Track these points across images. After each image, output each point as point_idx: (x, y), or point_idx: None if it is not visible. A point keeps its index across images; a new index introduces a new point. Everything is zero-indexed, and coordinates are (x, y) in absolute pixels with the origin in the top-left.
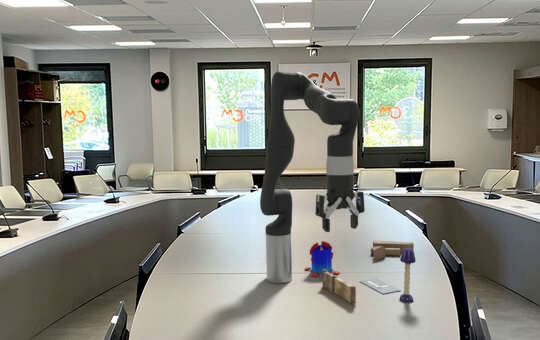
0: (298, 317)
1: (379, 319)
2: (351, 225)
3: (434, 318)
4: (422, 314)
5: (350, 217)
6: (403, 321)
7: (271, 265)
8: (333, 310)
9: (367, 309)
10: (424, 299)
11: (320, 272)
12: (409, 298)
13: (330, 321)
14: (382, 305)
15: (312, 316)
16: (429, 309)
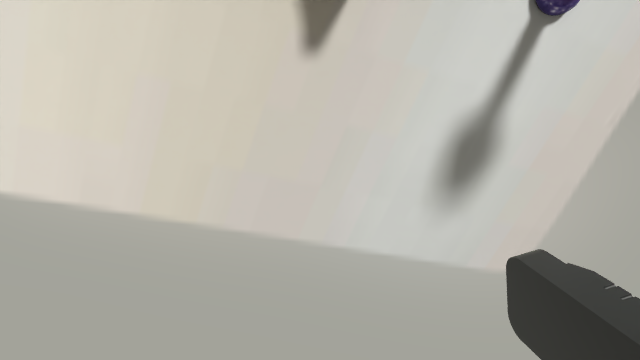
0: (80, 35)
1: (384, 133)
2: (525, 287)
3: (539, 164)
4: (527, 127)
5: (608, 322)
6: (446, 165)
7: None
8: (252, 4)
9: (384, 34)
10: (610, 2)
11: None
12: (563, 9)
13: (208, 109)
14: (453, 12)
15: (146, 42)
16: (569, 94)
